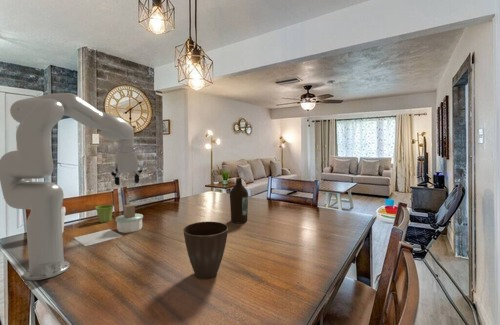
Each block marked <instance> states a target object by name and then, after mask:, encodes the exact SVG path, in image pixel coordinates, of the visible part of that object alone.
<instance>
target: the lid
mask: <svg viewBox="0 0 500 325" xmlns="http://www.w3.org/2000/svg"><path fill="white" fill-rule="evenodd" d="M122 206H123V214H121V215H118V216H116V217H115V218H114V219H115V222H116V223H117V222H121V223H125V222H134V221H138V220H141V219H142V220H143V219H144V215H143V214H142V213H136V208H135V205H134V204H126V205H125V204H124V205H122Z"/></svg>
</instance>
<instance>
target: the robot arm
mask: <svg viewBox="0 0 500 325" xmlns="http://www.w3.org/2000/svg"><path fill="white" fill-rule="evenodd" d="M9 112H10V115H11V117H12V118H13V120H15V122H17V123H19V124H18V126H17V129H16V132H15V139H16V141H15V142H16V150H13V151H12V150H11V151H9V152H6V153H5V154H3V155H2V156H1V157H0V186H1V192H2V195H3V199H4V201H5V203H6V204H7V206H9V207H10V208H12V209H16V210H17V209H18V210H30V213H29V215H28V217H27V220H26V225H25V228H26V229H25V230H26V231H25V232H26V237H27V238H26V240H27V253H28V254H27V255H28V256H27V259H28V269H27V270H25V271H24V272H23V279H24V280H26V281H41V280H47V279H50V278H53V277H56V276H58V275H61V274H63V273H64V272H66V271H68V270H69V268H70V262H69V261H67V260H65V259H64V257H65V256H64V240H63V233H62V223H61V209H62V207H63V202H64V196H65V195H64V190H63V189H62V187H60V186H59V185H58V184H57V183H54V182H51V181H50V182H49V181H33V180H36V179H37V180H38V179H45V178H48V177H49V176H51V175H52V174H53V172H54V159H53V154H52V153H53V152H52V147H51V140H50V136H51V132H52V130H53V128H54V127H55V126H56V124H57V123H59V121H61V120H62V119H63V116H64V117H65V116H66V117H69V118H70V119H72V120H75V121H76V122H77V123H79V124H82V125H83V126H84V127H88V128H90V129H95V130H100V135H101V137H102V138H103V139H105V140H107V141H117V152H116V154H115V156H114V157H115V158H114V165H113V166H111V167H108V171H109V173H110V175H111V176H113V177H114V184H115V186H120V175H121V174H126V173H127V174H128V173H134V177H133V178H134V183H136V184H139V183H140V182H139V181H140V175H141V173H142V172H143V170H144V168H145V167H144V166H143V165H140V164H139V163H138V157H137V154H136V152H137V149H138V148H136V147H135V134H134V127H133V126H131V125H130V123H129V122H127V121H125V120H124V119H122V118H121V117H118V116H117V115H114V114H110V113H108V112H106V111H105V112H104V111H101V110H99V109H97V108H96V107H95V106H94V105H92V104H90V103H89V102H87V101H86V100H85V99H83V98H81V96H79V95H77V94H75V93H71V92H59V93H57V92H56V93H47V94H42V95H38V96H33V97H29V98H27V97H26V98H23V99H18V100H16V101H14V102H13V103H12V104H11V105H10V109H9Z"/></svg>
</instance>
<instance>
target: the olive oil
mask: <svg viewBox="0 0 500 325" xmlns="http://www.w3.org/2000/svg"><path fill="white" fill-rule="evenodd" d="M229 203H230V204H229V205H230V206H229V207H230V220H231V222H232V223H234V224H243V223H247V222H248V213H249V212H248V210H249V209H248V208H249V207H248V206H249V205H248V204H249V193H248V190H247V189H246V188H245V186H244V185H243V180H242V177H236V178H235V185H234V186H233V187H232V188H231V190H230V192H229Z"/></svg>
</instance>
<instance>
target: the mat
mask: <svg viewBox="0 0 500 325" xmlns="http://www.w3.org/2000/svg"><path fill="white" fill-rule="evenodd" d="M121 237H123V235H122V234H121V233H118V232H116V231H114V230H112V229H110V228H108V229H105V230H99V231H96V232H93V233H88V234H84V235H79V236H75V237H73V239H75V240H76V241H77V242H78V243H80V244H81V245H83V246H84V247H88V246H91V245H95V244H99V243H103V242H107V241H111V240H114V239H118V238H121Z"/></svg>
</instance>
